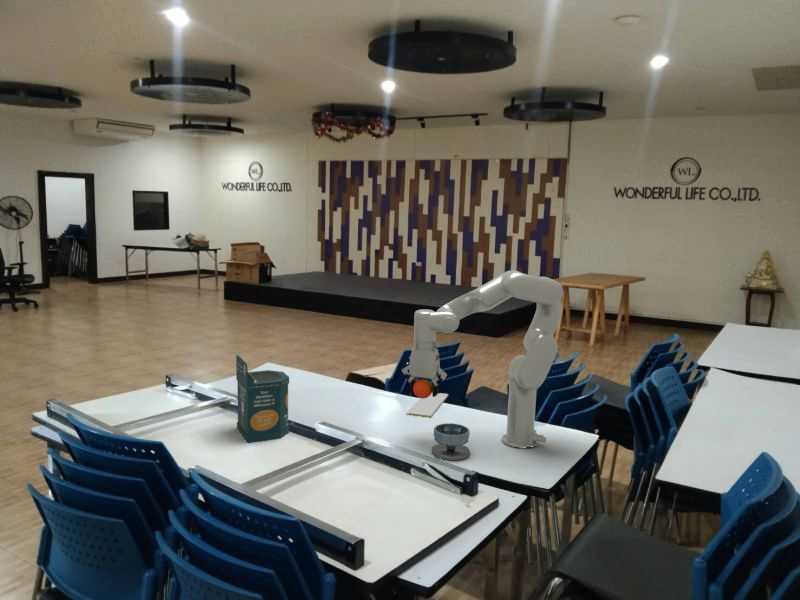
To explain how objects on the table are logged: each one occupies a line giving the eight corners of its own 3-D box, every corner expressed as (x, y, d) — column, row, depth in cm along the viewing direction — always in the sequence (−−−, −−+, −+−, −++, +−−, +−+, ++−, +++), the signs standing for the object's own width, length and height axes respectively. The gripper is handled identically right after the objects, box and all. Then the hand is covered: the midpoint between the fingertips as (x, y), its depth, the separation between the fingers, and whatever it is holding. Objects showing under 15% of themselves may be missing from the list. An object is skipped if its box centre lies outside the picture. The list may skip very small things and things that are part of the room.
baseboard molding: (401, 415, 246) (430, 419, 243) (402, 408, 246) (430, 412, 242) (422, 394, 276) (448, 397, 272) (422, 388, 275) (448, 391, 272)
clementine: (439, 398, 215) (439, 378, 214) (426, 403, 210) (426, 382, 209) (421, 393, 220) (422, 374, 219) (408, 398, 215) (409, 378, 214)
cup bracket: (474, 450, 211) (475, 426, 210) (463, 464, 199) (464, 439, 198) (438, 443, 216) (439, 420, 215) (426, 456, 204) (426, 432, 203)
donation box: (236, 428, 225) (236, 354, 221) (279, 422, 233) (279, 350, 229) (247, 443, 211) (246, 364, 207) (292, 436, 219) (292, 360, 215)
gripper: (451, 345, 212) (450, 394, 215) (405, 340, 219) (405, 388, 222) (444, 350, 206) (443, 400, 208) (397, 344, 213) (396, 393, 215)
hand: (423, 394), depth 215 cm, fingers closed on clementine, 7 cm apart
